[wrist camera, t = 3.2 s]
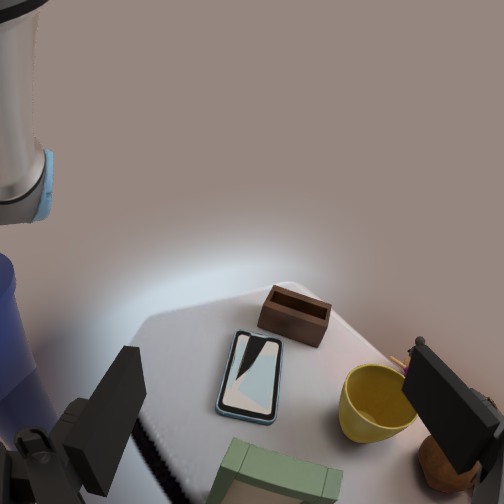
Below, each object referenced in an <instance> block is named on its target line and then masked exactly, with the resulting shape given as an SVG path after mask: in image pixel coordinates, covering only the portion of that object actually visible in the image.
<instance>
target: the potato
mask: <svg viewBox="0 0 504 504" xmlns="http://www.w3.org/2000/svg"><path fill="white" fill-rule="evenodd" d="M418 460H419V462H420V464H421V467H422V469H423V472H424V475H425V479H426V481H427V483H428V485H429V486H430V487H432V488H433V489H435V490H438V491H442V492H450V493H451V492H458V491H463V490H465V489H468V488H470V487H472V486H473V485H475V482H476V478H475V479H474V480H473V482H472V483H471V482H470V481H471V479H472V477H473V476H474V474H475V473H476V472H477V470H478V469H479V467H480V466H481V464H480V462H479V461H477V462H476V464H475V465H474V467H473V468H472V470H470V471H468V472H466V473H463V474H461V475H457V473H456V472H455V470H454V468H453V467H452V465H451V464H450V462H449V461H448V459H447V458H446V456H445V455H444V453H443V452H442V450H441V448H440V447H439V445H438V444H437V442H436V441H435V439H434V438H433V436H432V435H430V436H428V437H427V438H426V439H425V440H424V441H423V443H422V445H421V447H420V449H419V459H418Z"/></svg>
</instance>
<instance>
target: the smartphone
mask: <svg viewBox="0 0 504 504" xmlns="http://www.w3.org/2000/svg"><path fill="white" fill-rule="evenodd" d="M229 352H230V353H229V355H228V360H227V364H226V368H225V371H224V375H223V379H222V383H221V386H220V390H219V394H218V398H217V401H216V405H215V409H216V411H217V412H218V413H219V414H221V415H225V416H229V417H233V418H238V419H242V420H247V421H252V422H257V423H262V424H272V423H273V422H274V421H275V419H276V417H277V407H278V398H279V387H280V377H281V366H282V354H283V341H282V340H281V339H279V338H275V337H271V336H266V335H262V334H258V333H254V332H249V331H245V330H237V331H236V332H235V334H234V338H233V341H232V345H231V348H230V351H229Z"/></svg>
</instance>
